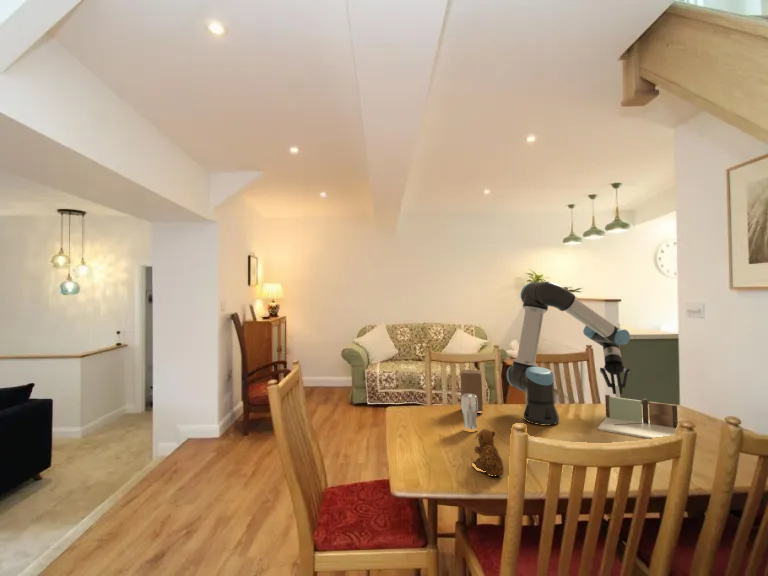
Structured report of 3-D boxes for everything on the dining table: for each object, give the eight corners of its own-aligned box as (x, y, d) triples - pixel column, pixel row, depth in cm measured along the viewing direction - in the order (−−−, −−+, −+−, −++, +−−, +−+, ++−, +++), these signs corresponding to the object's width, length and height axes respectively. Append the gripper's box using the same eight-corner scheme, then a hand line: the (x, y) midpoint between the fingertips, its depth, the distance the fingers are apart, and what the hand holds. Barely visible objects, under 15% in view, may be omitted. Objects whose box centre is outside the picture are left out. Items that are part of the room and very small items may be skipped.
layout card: (597, 429, 164) (597, 427, 164) (609, 415, 183) (609, 413, 183) (677, 443, 147) (677, 441, 147) (681, 426, 165) (681, 424, 165)
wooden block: (461, 413, 192) (460, 373, 192) (462, 408, 201) (461, 369, 202) (482, 414, 189) (481, 373, 190) (482, 408, 199) (481, 369, 199)
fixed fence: (642, 425, 168) (641, 399, 168) (643, 423, 170) (642, 398, 170) (677, 430, 160) (676, 403, 161) (678, 429, 162) (677, 402, 162)
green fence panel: (605, 416, 178) (604, 395, 178) (606, 415, 179) (605, 394, 179) (641, 422, 169) (640, 399, 169) (642, 421, 170) (641, 399, 170)
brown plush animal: (498, 462, 136) (496, 424, 136) (512, 481, 122) (511, 439, 122) (469, 463, 136) (468, 425, 136) (481, 483, 122) (479, 440, 122)
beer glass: (465, 426, 173) (464, 392, 173) (480, 429, 170) (479, 394, 170) (459, 431, 167) (458, 396, 167) (475, 434, 164) (474, 398, 164)
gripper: (627, 362, 196) (634, 405, 181) (597, 361, 202) (602, 402, 186) (628, 354, 192) (635, 396, 176) (598, 353, 197) (602, 394, 182)
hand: (618, 399), depth 181 cm, fingers closed
